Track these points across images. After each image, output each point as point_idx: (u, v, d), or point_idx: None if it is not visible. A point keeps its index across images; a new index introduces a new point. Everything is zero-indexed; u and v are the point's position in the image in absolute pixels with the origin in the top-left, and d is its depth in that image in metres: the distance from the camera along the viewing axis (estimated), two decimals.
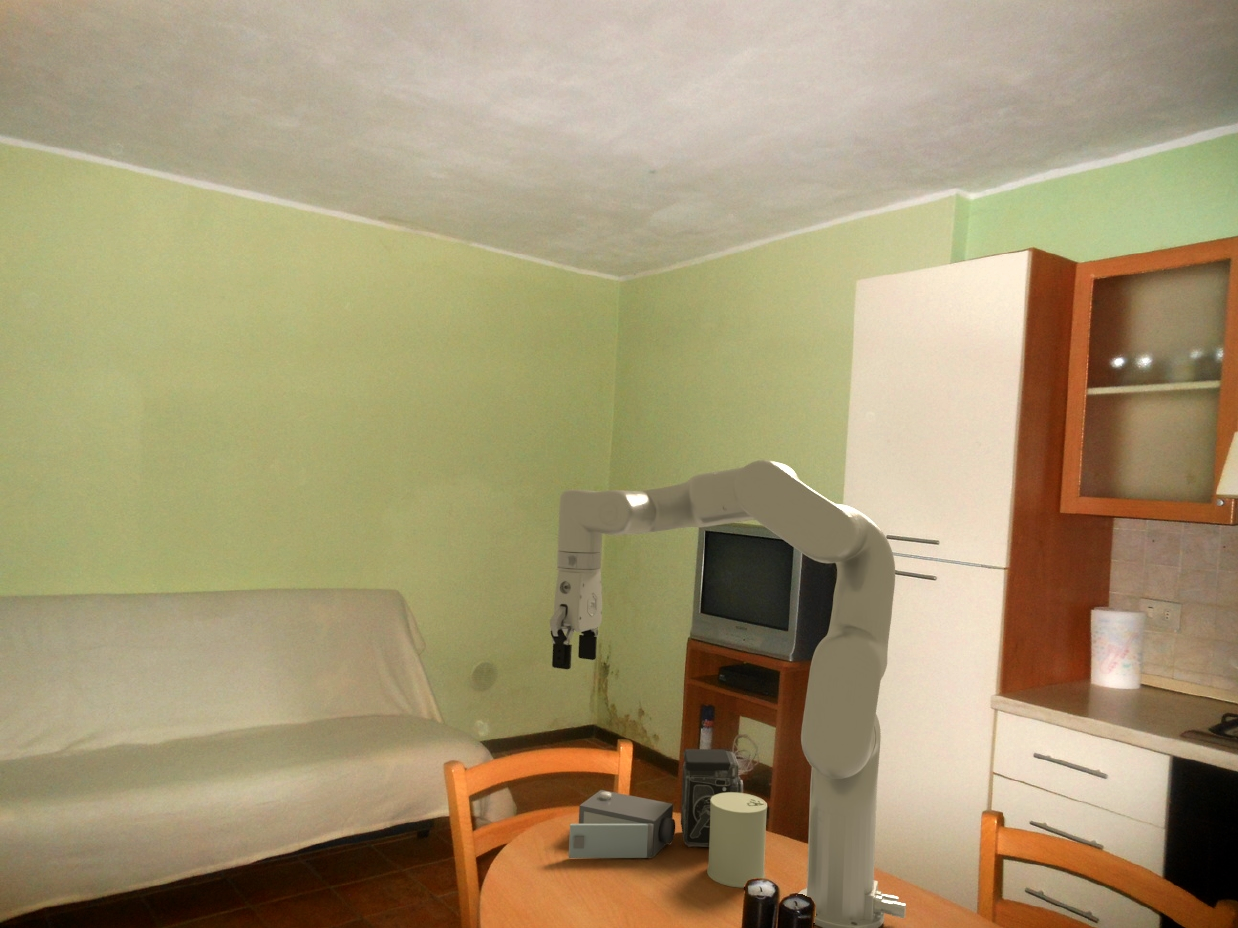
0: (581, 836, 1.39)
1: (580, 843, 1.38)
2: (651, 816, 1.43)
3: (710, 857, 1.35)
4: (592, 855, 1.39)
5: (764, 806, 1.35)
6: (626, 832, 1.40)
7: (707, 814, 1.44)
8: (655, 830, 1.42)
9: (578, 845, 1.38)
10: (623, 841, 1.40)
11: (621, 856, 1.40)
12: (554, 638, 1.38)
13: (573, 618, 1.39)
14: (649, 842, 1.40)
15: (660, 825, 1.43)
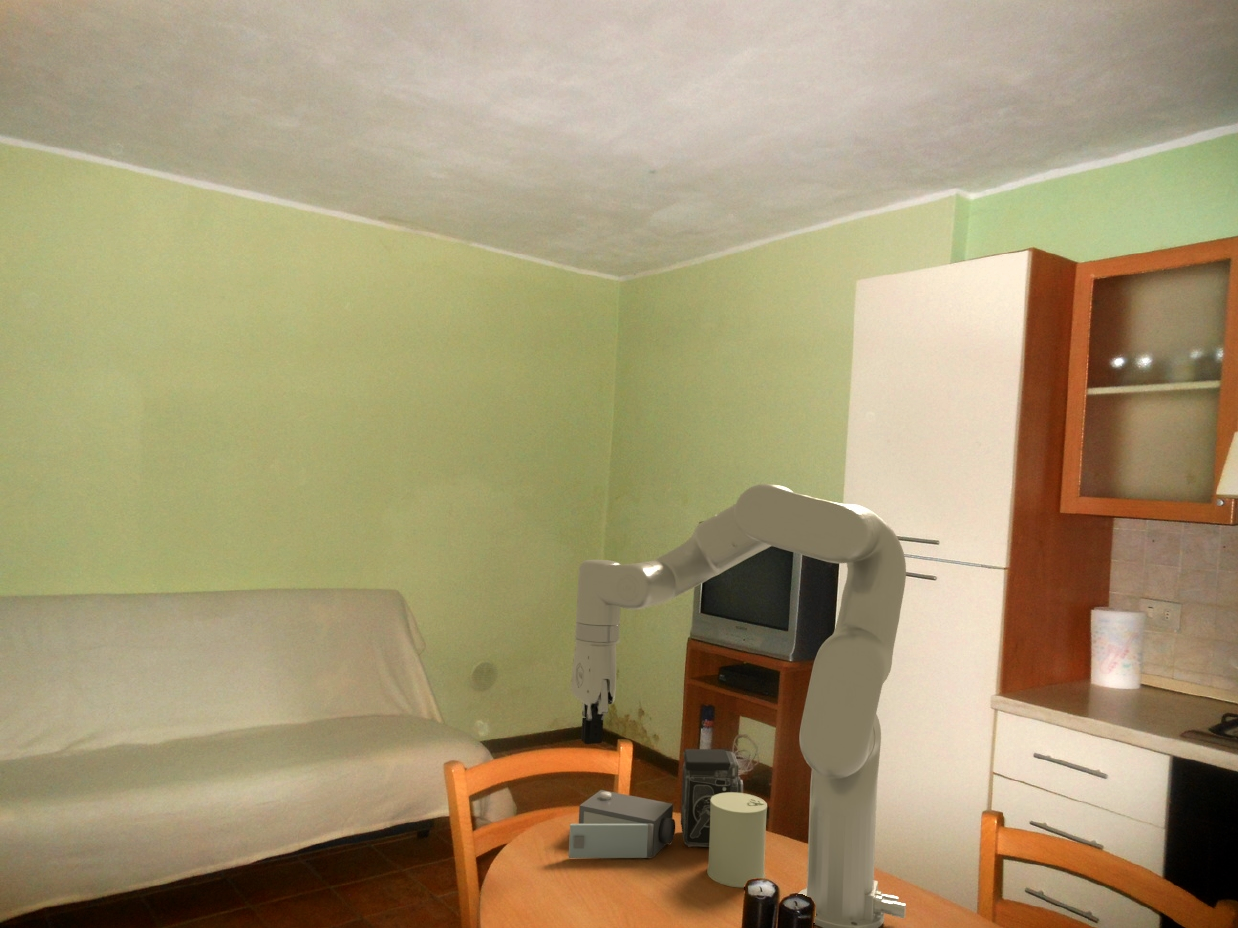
0: (581, 836, 1.39)
1: (580, 843, 1.38)
2: (651, 816, 1.43)
3: (710, 857, 1.35)
4: (592, 855, 1.39)
5: (764, 806, 1.35)
6: (626, 832, 1.40)
7: (707, 814, 1.44)
8: (655, 830, 1.42)
9: (578, 845, 1.38)
10: (623, 841, 1.40)
11: (621, 856, 1.40)
12: None
13: None
14: (649, 842, 1.40)
15: (660, 825, 1.43)
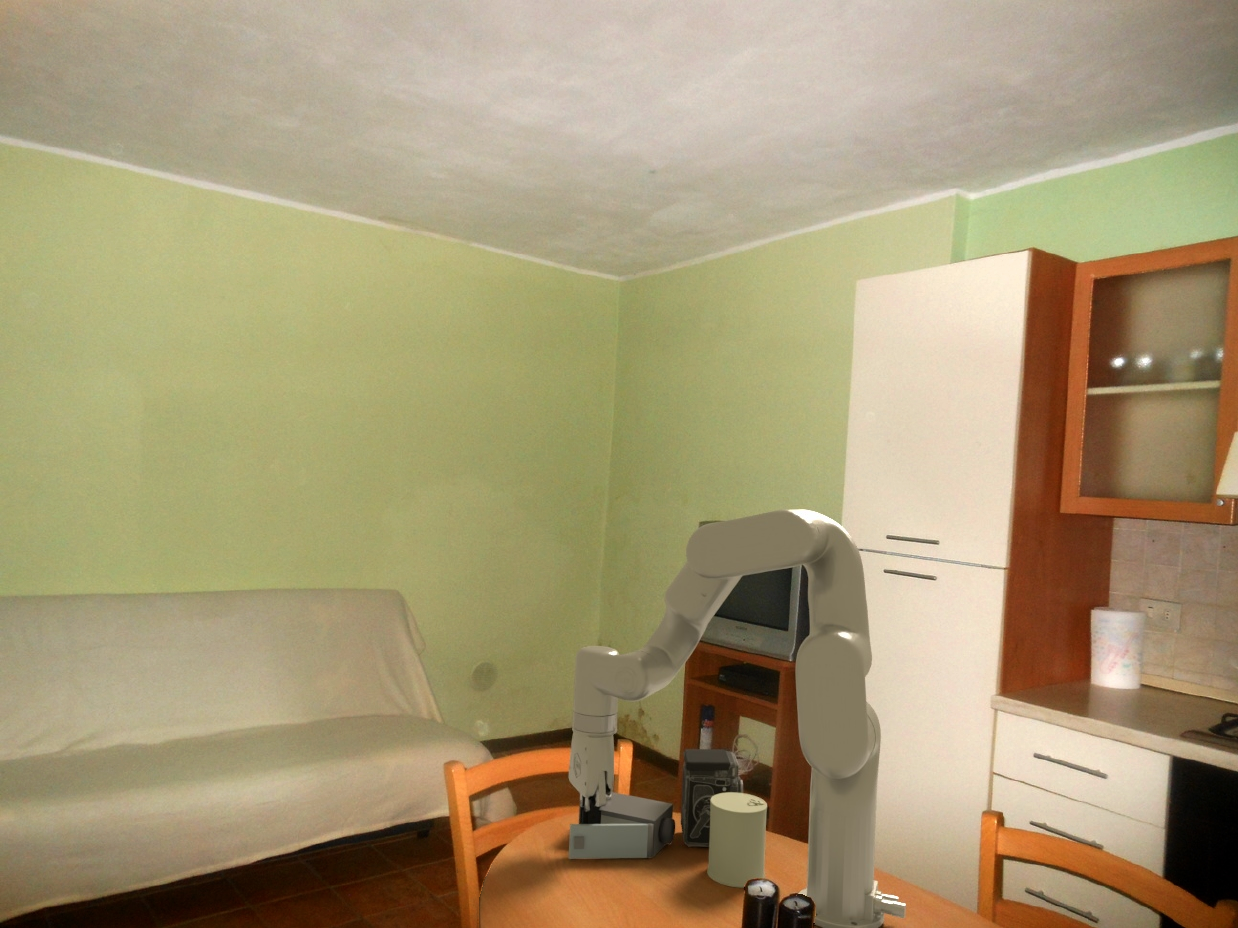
0: (581, 836, 1.39)
1: (580, 843, 1.38)
2: (651, 816, 1.43)
3: (710, 857, 1.35)
4: (592, 855, 1.39)
5: (764, 806, 1.35)
6: (626, 832, 1.40)
7: (707, 814, 1.44)
8: (655, 830, 1.42)
9: (578, 845, 1.38)
10: (623, 841, 1.40)
11: (621, 856, 1.40)
12: None
13: None
14: (649, 842, 1.40)
15: (660, 825, 1.43)
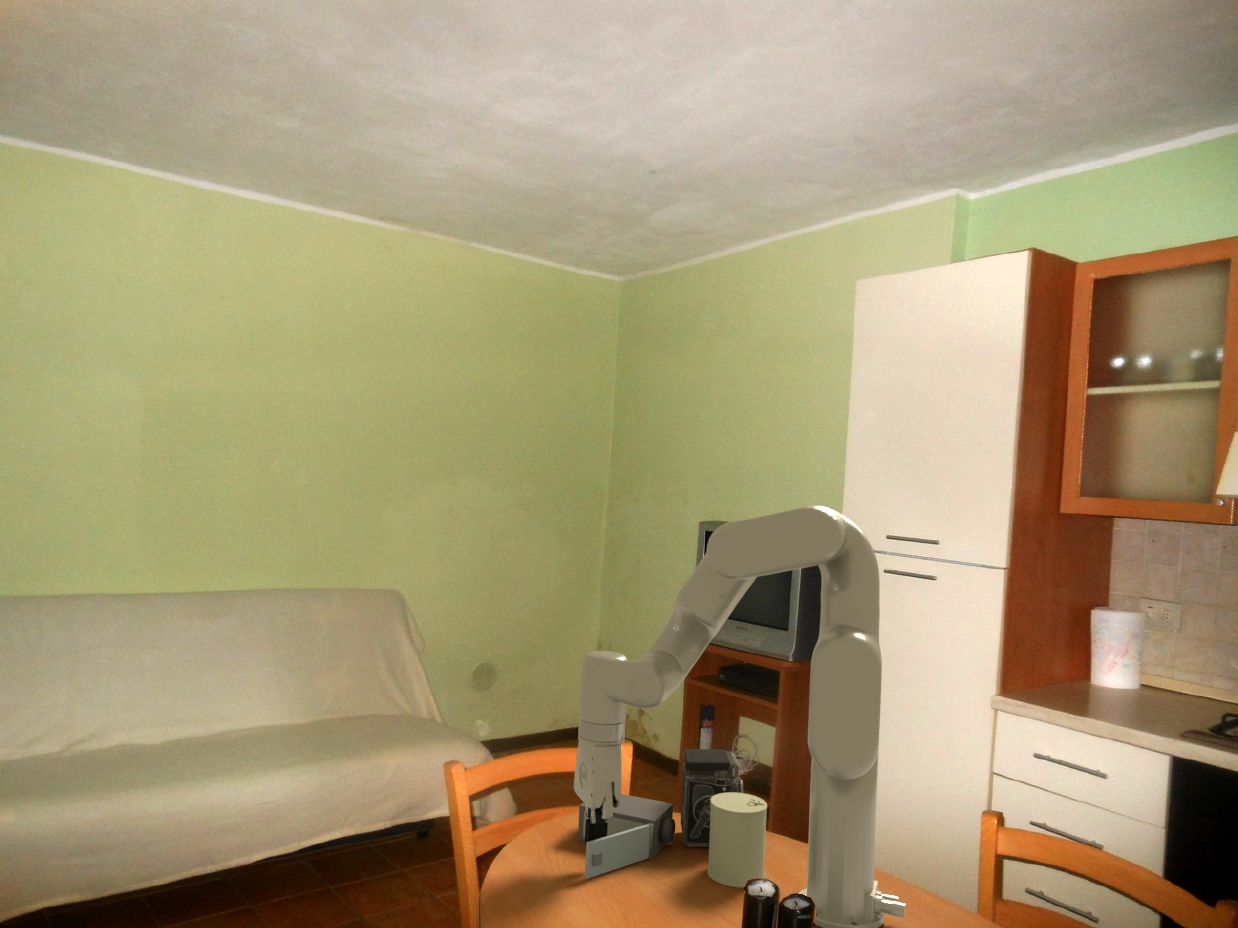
0: (599, 852, 1.33)
1: (599, 860, 1.32)
2: (651, 816, 1.43)
3: (710, 857, 1.35)
4: (606, 869, 1.34)
5: (764, 806, 1.35)
6: (633, 837, 1.38)
7: (707, 814, 1.44)
8: (655, 830, 1.42)
9: (597, 862, 1.32)
10: (631, 847, 1.37)
11: (629, 863, 1.37)
12: None
13: None
14: (651, 842, 1.40)
15: (660, 825, 1.43)
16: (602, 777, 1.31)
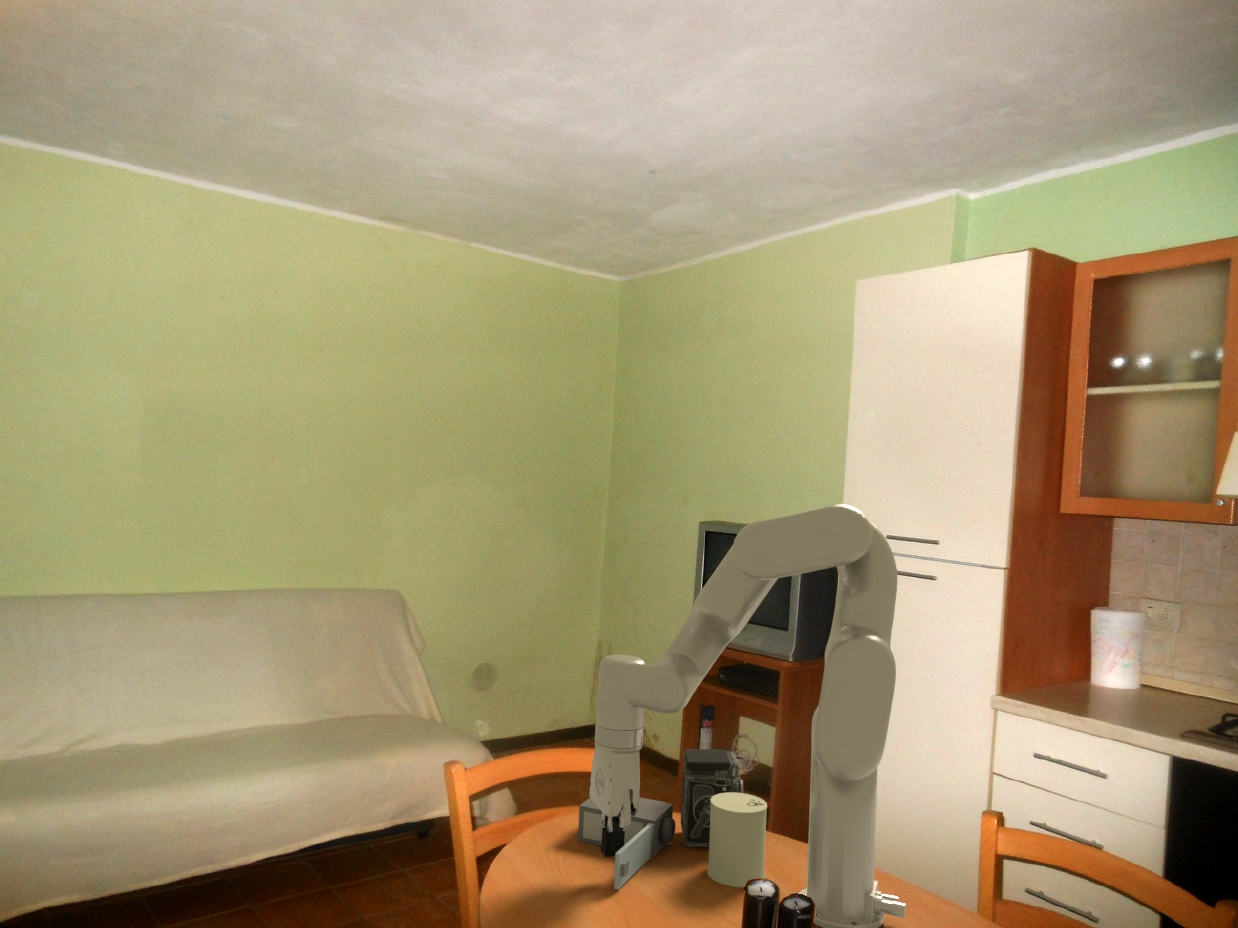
0: (625, 861, 1.30)
1: (627, 868, 1.30)
2: (651, 816, 1.43)
3: (710, 857, 1.35)
4: (628, 877, 1.32)
5: (764, 806, 1.35)
6: (642, 840, 1.37)
7: (707, 814, 1.44)
8: (655, 830, 1.42)
9: (626, 871, 1.29)
10: (641, 850, 1.36)
11: (640, 866, 1.36)
12: None
13: None
14: (652, 842, 1.40)
15: (660, 825, 1.43)
16: (620, 784, 1.28)
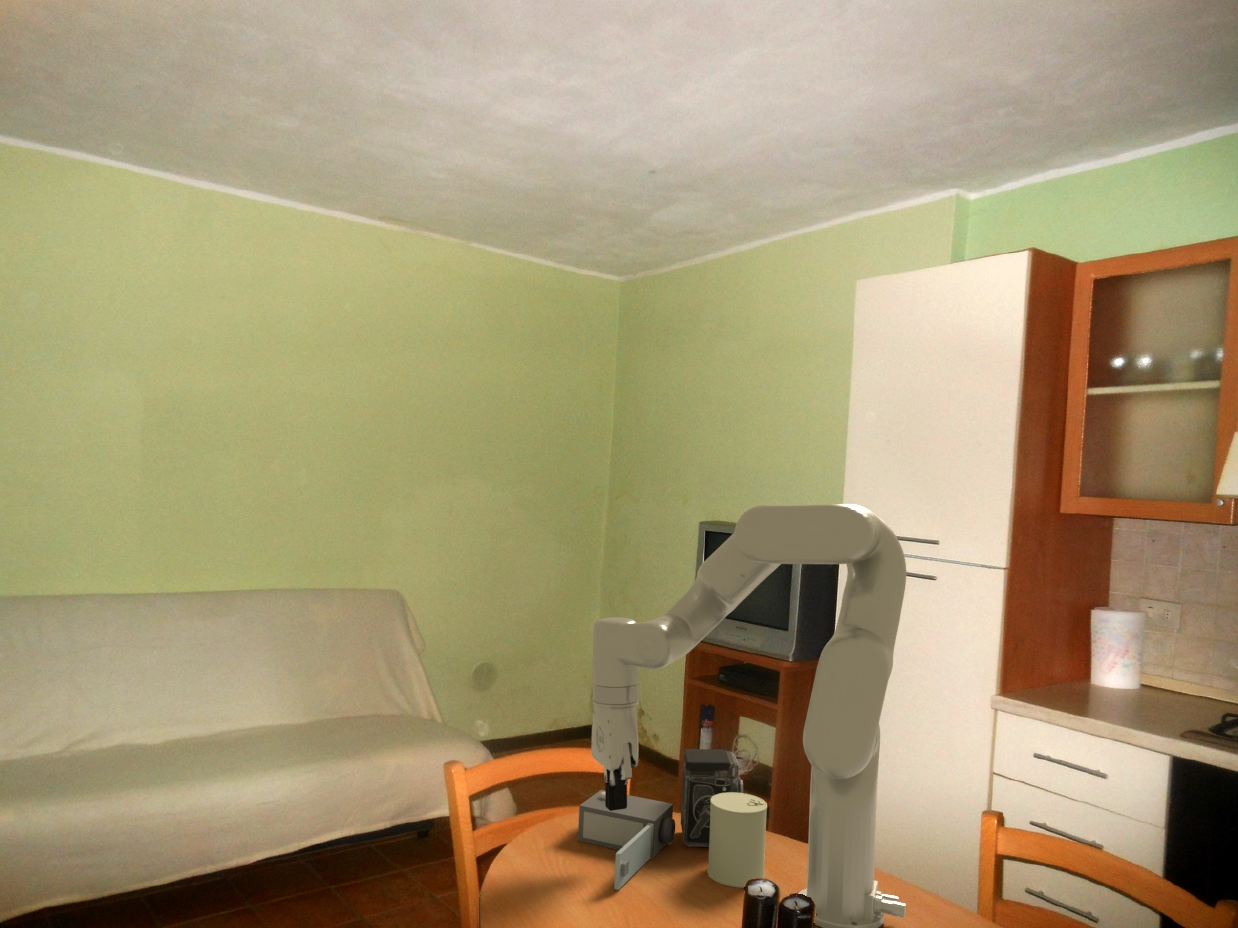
0: (626, 861, 1.30)
1: (627, 868, 1.30)
2: (651, 816, 1.43)
3: (710, 857, 1.35)
4: (628, 877, 1.32)
5: (764, 806, 1.35)
6: (642, 840, 1.37)
7: (707, 814, 1.44)
8: (655, 830, 1.42)
9: (626, 871, 1.29)
10: (641, 850, 1.36)
11: (640, 866, 1.36)
12: None
13: None
14: (652, 842, 1.40)
15: (660, 825, 1.43)
16: (619, 738, 1.34)
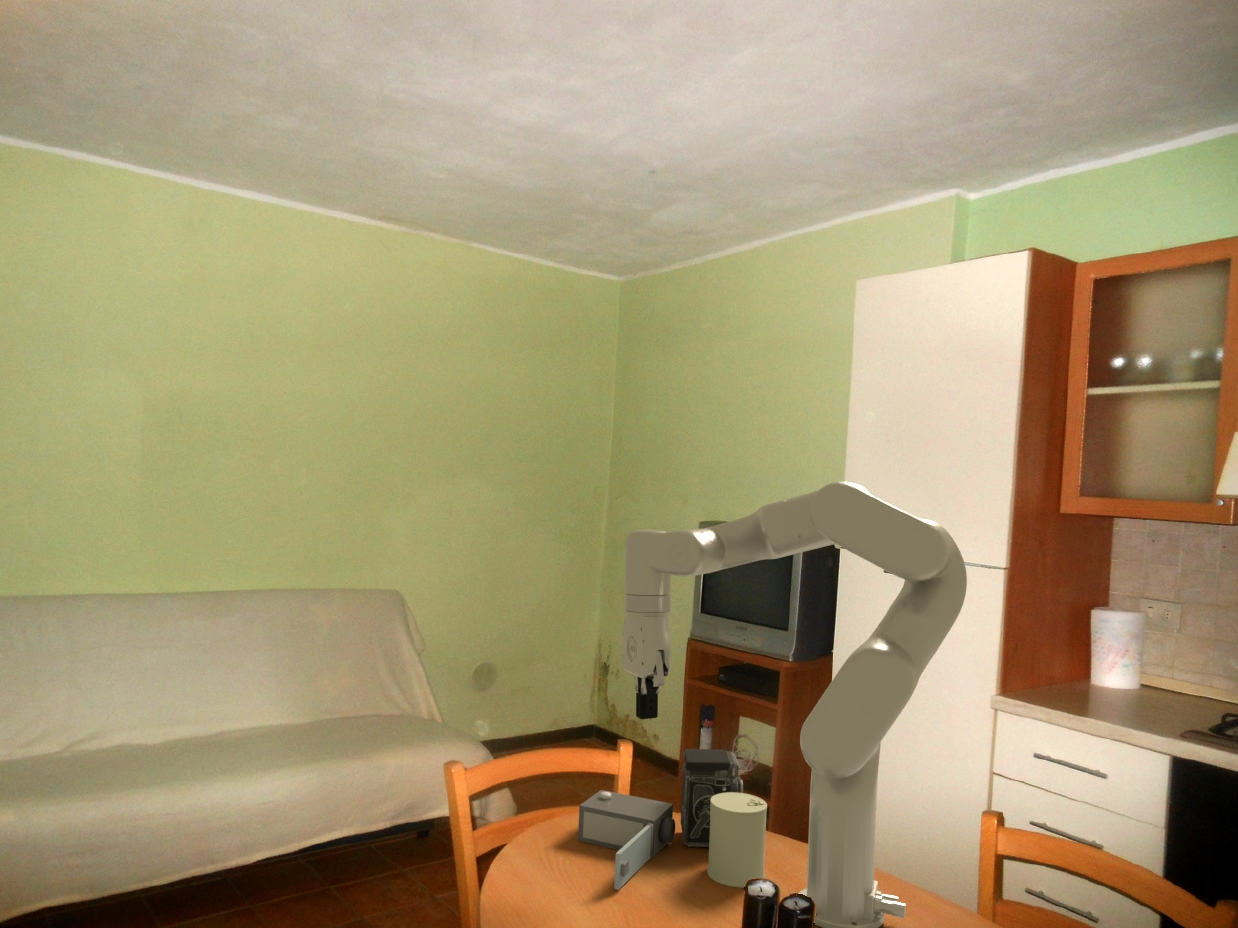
0: (626, 861, 1.30)
1: (627, 868, 1.30)
2: (651, 816, 1.43)
3: (710, 857, 1.35)
4: (628, 877, 1.32)
5: (764, 806, 1.35)
6: (642, 840, 1.37)
7: (707, 814, 1.44)
8: (655, 830, 1.42)
9: (626, 871, 1.29)
10: (641, 850, 1.36)
11: (640, 866, 1.36)
12: None
13: None
14: (652, 842, 1.40)
15: (660, 825, 1.43)
16: (652, 645, 1.34)
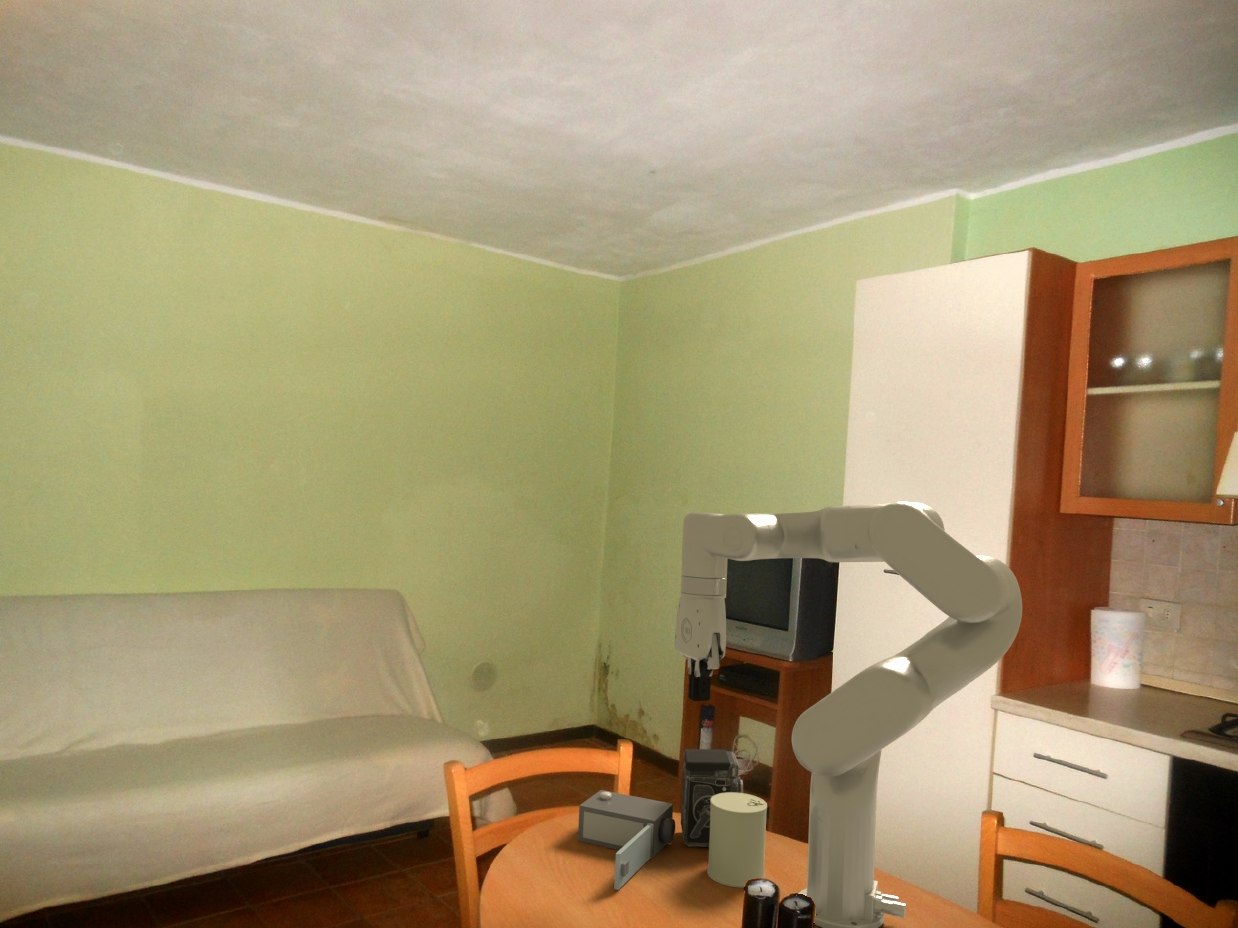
0: (626, 861, 1.30)
1: (627, 868, 1.30)
2: (651, 816, 1.43)
3: (710, 857, 1.35)
4: (628, 877, 1.32)
5: (764, 806, 1.35)
6: (642, 840, 1.37)
7: (707, 814, 1.44)
8: (655, 830, 1.42)
9: (626, 871, 1.29)
10: (641, 850, 1.36)
11: (640, 866, 1.36)
12: None
13: None
14: (652, 842, 1.40)
15: (660, 825, 1.43)
16: (708, 628, 1.34)
